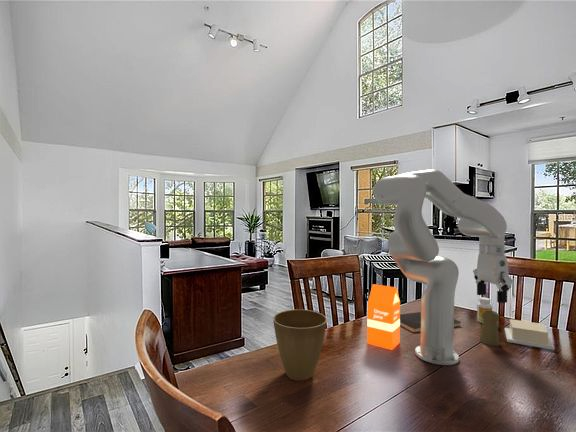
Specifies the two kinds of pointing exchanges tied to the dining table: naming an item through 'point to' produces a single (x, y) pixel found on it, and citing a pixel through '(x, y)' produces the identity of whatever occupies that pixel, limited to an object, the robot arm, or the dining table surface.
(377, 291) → the orange juice
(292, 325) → the plant pot
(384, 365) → the dining table surface
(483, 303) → the supplement bottle
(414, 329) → the hardcover book
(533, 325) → the plinth stand
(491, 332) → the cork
